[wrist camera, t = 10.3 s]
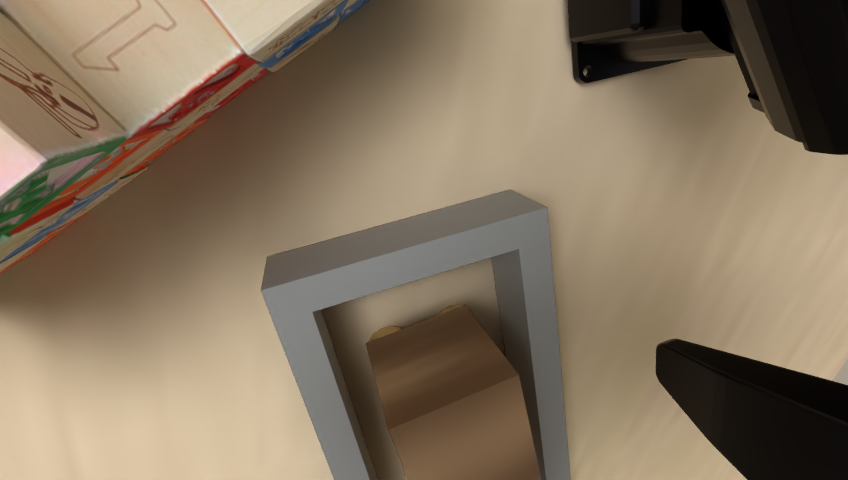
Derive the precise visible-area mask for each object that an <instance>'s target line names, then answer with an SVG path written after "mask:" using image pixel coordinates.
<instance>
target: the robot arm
mask: <svg viewBox="0 0 848 480" xmlns="http://www.w3.org/2000/svg"><path fill="white" fill-rule="evenodd" d="M568 14H569V32H570V38H571V39H572V56H573V74H574V78H575V80H576V81H577V82H579V83H589V82H594V81H598V80H602V79H606V78H611V77H615V76H619V75H623V74H627V73H632V72H636V71H640V70H644V69H649V68H653V67H657V66H661V65H665V64H670V63H674V62H678V61H682V60H687V59H691V58H704V57H718V56H731V55H735V56H736V58H737V61H738V63H739V66H740V68H741V71H742V73H743V76H744V78H745V81H746V83H747V86H748V88H749V91H750V93H749V94H748V98H749V100H750V103H751V105H752V107H753V108H755V109H757V110H759V111H762V112H764V113H765V115H766V117H767V118H768V120H769V122H770V123H771V125H772V126H773V128H774V130H775V131H777V132H779V133H781V134H783V135H785V136H787V137H789V138H791V139H793V140H795V141H798V142H802V143H803V146H804V148H805V150H807V151H810V152H818V153H827V154H837V155H848V0H568ZM585 67H587V70H588V72H587V75H586V76H584V74H583V70H584V68H585ZM656 375H657V378H658V380H659V382H660V383H661V384H662V386H663V387H664V388H665V389H666V390H667V392H668V393H669V394H670V395H671V396H672V398H673V399H674V400H675V401H676V402H677V404H678V405H679V406H680V407H681V408H682V410H683V411H684V412H685V413H686V414H687V415H688V417H689V418H690V419H691V420H692V421H693V423H694V424H695V425H696V426H697V427H698V429H699V430H700V431H701V432H702V433H703V434H704V436H705V437H706V438H707V439H708V440H709V441H710V442H711V443H712V444H713V445H714V446H715V448H716V449H717V450H718V451H719V452H720V453H721V454H722V455H723V456H724V457H725V458H726V459H727V460H728V461H729V462H730V463H731V464H732V465H733V466H734V467H735V468H736V469H737V470H738V471H739V472H740V473H741V474H742V475H743V476H744V477H745V478H746V479H747V480H848V385H844V384H841V383H838V382H834V381H830V380H827V379H823V378H819V377H816V376H812V375H808V374H805V373H801V372H797V371H793V370H790V369H786V368H782V367H779V366H775V365H771V364H768V363H764V362H760V361H757V360H753V359H749V358H746V357H742V356H738V355H735V354H731V353H727V352H724V351H720V350H716V349H713V348H709V347H705V346H702V345H698V344H694V343H691V342H687V341H683V340H680V339H670V340H667V341H665V342H662V343H660V344H658V346H657V348H656Z"/></svg>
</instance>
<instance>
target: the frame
mask: <svg viewBox="0 0 848 480" xmlns="http://www.w3.org/2000/svg"><path fill="white" fill-rule="evenodd" d="M487 258H492V265H493V272H494V279H495V285H496V292H497V299H498V306H499V313H500V320H501V326H502V333H503V340H504V347H505V354H506V359H507V360H508V361H509V363H510V364H511V365H512V366H513V368H514V369H515V370H516V372H517V373H518V374H519V378H520V382H521V387H522V392H523V396H524V401H525V406H526V410H527V415H528V420H529V424H530V429H531V433H532V438H533V443H534V447H535V452H536V457H537V461H538V466H539V471H540V475H541V480H571V476H570V465H569V453H568V442H567V430H566V418H565V407H564V395H563V384H562V372H561V361H560V349H559V338H558V326H557V315H556V303H555V292H554V280H553V268H552V257H551V245H550V234H549V222H548V211H547V207H545V206H543V205H541V204H539V203H537V202H535V201H533V200H531V199H529V198H527V197H525V196H523V195H521V194H519V193H516V192H514V191H512V190H507V191H503V192H499V193H496V194H492V195H489V196H485V197H481V198H478V199H474V200H471V201H467V202H463V203H460V204H456V205H453V206H449V207H445V208H442V209H438V210H434V211H431V212H427V213H424V214H420V215H416V216H413V217H409V218H406V219H402V220H398V221H395V222H391V223H388V224H384V225H380V226H377V227H373V228H369V229H366V230H362V231H359V232H355V233H351V234H348V235H344V236H341V237H337V238H333V239H330V240H326V241H323V242H319V243H315V244H312V245H308V246H305V247H301V248H297V249H294V250H290V251H286V252H283V253H279V254H276V255H272V256H268V257H267V260H266V266H265V271H264V276H263V282H262V287H261V292H262V295H263V297H264V300H265V302H266V305H267V308H268V310H269V313H270V315H271V318H272V320H273V323H274V326H275V328H276V331H277V333H278V336H279V339H280V341H281V344H282V346H283V349H284V351H285V354H286V357H287V359H288V362H289V364H290V367H291V369H292V372H293V375H294V377H295V380H296V382H297V385H298V387H299V390H300V393H301V395H302V398H303V400H304V403H305V405H306V408H307V411H308V413H309V416H310V418H311V421H312V423H313V426H314V429H315V431H316V434H317V436H318V439H319V442H320V444H321V447H322V449H323V452H324V454H325V457H326V460H327V462H328V465H329V467H330V470H331V472H332V475H333V478H334V480H378V479H377V476H376V473H375V470H374V467H373V464H372V461H371V458H370V455H369V452H368V449H367V446H366V443H365V440H364V437H363V434H362V431H361V428H360V425H359V422H358V419H357V416H356V413H355V410H354V407H353V404H352V401H351V398H350V395H349V392H348V389H347V386H346V383H345V380H344V377H343V374H342V371H341V368H340V365H339V362H338V359H337V356H336V353H335V350H334V347H333V344H332V341H331V338H330V335H329V332H328V329H327V326H326V323H325V320H324V317H323V314H322V311H321V309H324V308H327V307H330V306H334V305H337V304H340V303H343V302H347V301H350V300H353V299H356V298H360V297H363V296H366V295H370V294H373V293H376V292H379V291H383V290H386V289H389V288H392V287H396V286H399V285H402V284H406V283H409V282H412V281H415V280H419V279H422V278H425V277H428V276H432V275H435V274H438V273H442V272H445V271H448V270H451V269H455V268H458V267H461V266H465V265H468V264H471V263H474V262H478V261H481V260H484V259H487ZM458 307H460V306H458V305H455V306H450V307H447V308H445V309H444V310H442V311H441V312H440V313H439V314H438V315H440V314H442V313H445V312H447V311H450V310H453V309H455V308H458ZM398 330H401V328H399V327H394V326H389V327H384V328H382V329H380V330H378V331H377V332H375V333H374V334H373V336H372V337H371V339H370V341H373V340H375V339H378V338H380V337H383V336H385V335H388V334H391V333H393V332H396V331H398ZM370 341H369V342H370ZM403 470H404V468H403ZM404 474H405V477H406V480H408V478H407V476H406V473H405V471H404Z"/></svg>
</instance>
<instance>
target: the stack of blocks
mask: <svg viewBox="0 0 848 480" xmlns="http://www.w3.org/2000/svg"><path fill="white" fill-rule="evenodd" d="M368 1H370V0H0V273H2V272H3V271H5V270H6V269H8V268H9V267H11V266H13V265H14V264H16V263H17V262H19V261H21V260H22V259H24V258H25V257H27V256H28V255H30V254H31V253H33V252H34V251H35V250H37V249H38V248H39V247H41V246H42V245H44V244H45V243H46V242H48V241H49V240H50V239H52V238H53V237H54V236H56V235H57V234H58V233H60V232H61V231H62V230H64V229H65V228H67V227H68V226H69V225H71V224H72V223H73V222H75V221H76V220H77V219H79V218H80V217H82V216H83V215H84V214H86V213H87V212H88V211H89V210H91V209H92V208H94V207H96V206H97V205H98V204H100V203H101V202H103V201H104V200H105V199H107V198H108V197H109V196H111V195H112V194H114V193H115V192H116V191H118V190H119V189H120V188H122V187H123V186H124V185H126V184H127V183H129V182H130V181H131V180H133V179H134V178H135V177H137V176H138V175H139V174H141V173H142V172H143V171H145V170H146V169H148V167H149V166H150V162H151V161H152V160H153V159H155V158H156V157H158V156H159V155H161V154H162V153H163V152H165V151H166V150H167V149H169V148H170V147H171V146H172V145H174V144H175V143H177V142H178V141H179V140H181V139H182V138H183V137H185V136H186V135H187V134H189V133H190V132H191V131H193V130H194V129H196V128H197V127H198V126H200V125H201V124H202V123H204V122H205V121H207V120H208V118H209V117H210V115H211V114H212V113H214V112H215V111H217V110H218V109H220V108H221V107H223V106H224V105H225V104H227V103H228V102H229V101H231V100H232V99H233V98H235V97H236V96H237V95H239V94H240V93H241V92H243V91H244V90H245V89H247V88H248V87H249V86H251V85H252V84H254V83H255V82H256V81H257V80H259V79H260V78H262V77H263V76H264V75H266V74H267V73H268V72H269V71H271V72H275V71H277V70H279V69H280V68H281V67H283V66H284V65H286V64H287V63H288V62H290V61H291V60H292V59H294V58H295V57H296V56H298V55H299V54H301V53H302V52H303V51H305V50H306V49H307V48H309V47H310V46H311V45H313V44H314V43H315V42H317V41H318V40H319V39H321V38H322V37H324V36H325V35H326V34H328V33H329V32H330V31H332V30H333V29H334V28H335V26H336V25H337V24H338V23H340V22H341V21H342V20H344V19H345V18H346V17H348V16H349V15H351V14H352V13H353V12H355V11H356V10H357V9H359V8H360V7H361V6H363V5H364V4H366V3H367V2H368Z"/></svg>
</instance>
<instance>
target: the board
mask: <svg viewBox="0 0 848 480" xmlns="http://www.w3.org/2000/svg"><path fill="white" fill-rule="evenodd" d="M366 346H367V350H368V354H369V358H370V361H371V365H372V369H373V373H374V377H375V381H376V384H377V388H378V392H379V396H380V400H381V404H382V408H383V411H384V415H385V419H386V423H387V427H388V430H389V433H390V435H391V438H392V440H393V443H394V445H395V448H396V451H397V453H398V456H399V458H400V461H401V463H402V466H403V468H404V471H405V473H406V476H407V478H408V480H541V475H540V471H539V466H538V461H537V457H536V452H535V447H534V443H533V438H532V433H531V429H530V424H529V420H528V415H527V410H526V406H525V401H524V396H523V392H522V387H521V382H520V378H519V374H518V373H517V372H516V370H515V369H514V368H513V366H512V365H511V364H510V363H509V361H508V360H507V359H506V357H505V356H504V355H503V353H502V352H501V351H500V349H499V348H498V347H497V346H496V344H495V343H494V342H493V340H492V339H491V338H490V336H489V335H488V334H487V332H486V331H485V330H484V329H483V327H482V326H481V325H480V323H479V322H478V321H477V319H476V318H475V317H474V315H473V314H472V313H471V312H470V310H469V309H468V308H467V306H466V305H463V306H460V307H458V308H455V309H453V310H450V311H447V312H445V313H442V314H440V315H437V316H435V317H432V318H429V319H427V320H424V321H422V322H419V323H416V324H414V325H411V326H409V327H406V328H404V329H401V330H398V331H396V332H393V333H391V334H388V335H385V336H383V337H380V338H378V339H375V340H373V341H370V342H367V343H366Z"/></svg>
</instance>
